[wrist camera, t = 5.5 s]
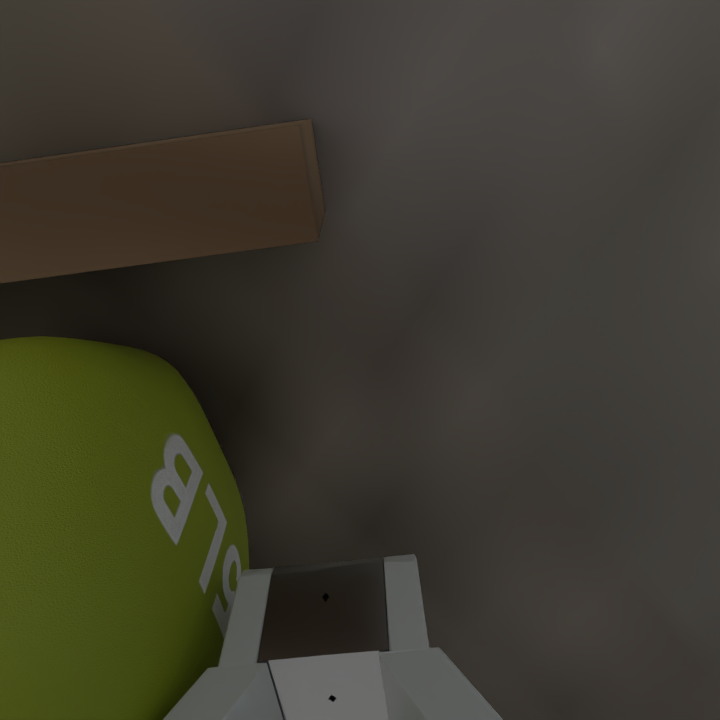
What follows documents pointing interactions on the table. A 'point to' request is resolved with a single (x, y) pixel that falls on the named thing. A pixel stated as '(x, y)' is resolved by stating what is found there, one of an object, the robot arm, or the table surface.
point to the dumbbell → (109, 533)
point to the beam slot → (160, 201)
